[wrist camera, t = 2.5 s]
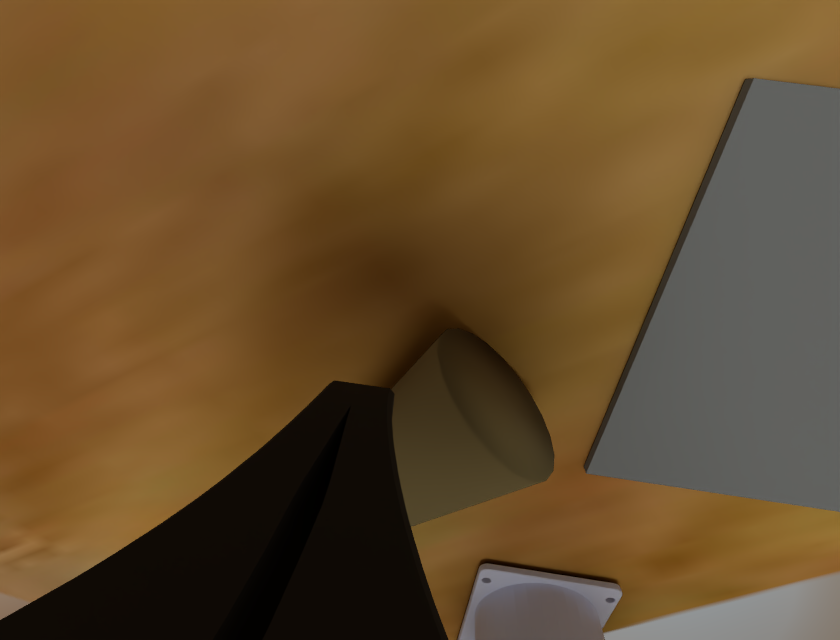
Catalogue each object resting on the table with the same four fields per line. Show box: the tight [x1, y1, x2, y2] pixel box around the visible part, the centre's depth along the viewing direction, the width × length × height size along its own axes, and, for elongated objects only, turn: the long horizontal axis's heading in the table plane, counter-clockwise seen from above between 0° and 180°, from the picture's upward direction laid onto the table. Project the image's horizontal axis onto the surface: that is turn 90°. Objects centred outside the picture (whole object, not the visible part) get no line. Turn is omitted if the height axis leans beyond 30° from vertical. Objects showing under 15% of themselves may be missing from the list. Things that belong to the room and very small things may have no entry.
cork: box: [391, 328, 554, 526], centre depth 17 cm, size 6×6×11 cm
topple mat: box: [584, 78, 840, 512], centre depth 15 cm, size 16×13×1 cm
